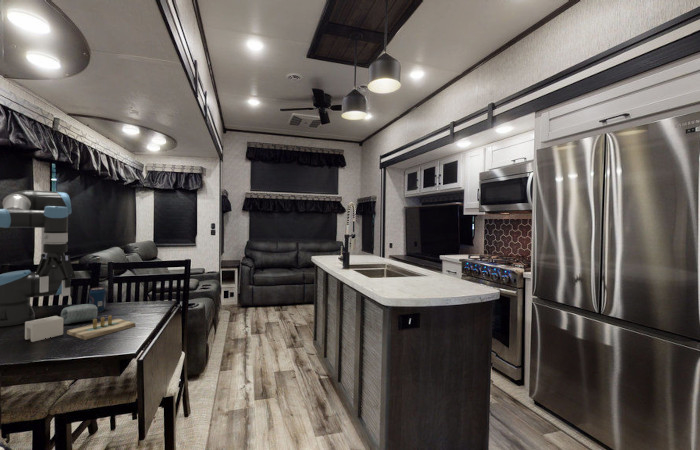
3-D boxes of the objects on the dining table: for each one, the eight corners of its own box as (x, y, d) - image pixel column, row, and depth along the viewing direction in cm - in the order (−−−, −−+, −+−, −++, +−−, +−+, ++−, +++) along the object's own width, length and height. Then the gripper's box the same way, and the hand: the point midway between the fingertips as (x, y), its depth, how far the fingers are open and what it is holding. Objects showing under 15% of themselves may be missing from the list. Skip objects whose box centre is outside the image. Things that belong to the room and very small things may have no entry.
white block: (24, 339, 133) (25, 321, 133) (55, 331, 142) (55, 315, 142) (32, 342, 130) (32, 324, 130) (63, 334, 139) (63, 318, 139)
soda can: (86, 311, 173) (87, 288, 173) (102, 308, 179) (102, 286, 179) (91, 313, 169) (92, 290, 169) (107, 310, 175) (108, 288, 175)
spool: (57, 321, 146) (65, 299, 151) (56, 325, 152) (64, 304, 157) (94, 323, 154) (101, 302, 159) (92, 328, 160) (99, 307, 165)
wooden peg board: (66, 333, 140) (67, 321, 140) (117, 321, 158) (117, 310, 158) (85, 339, 134) (85, 326, 134) (135, 326, 152) (135, 314, 152)
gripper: (25, 241, 137) (24, 292, 138) (66, 245, 130) (65, 298, 130) (46, 240, 144) (45, 288, 145) (86, 244, 137) (85, 294, 137)
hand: (54, 293), depth 137 cm, fingers open, 13 cm apart
